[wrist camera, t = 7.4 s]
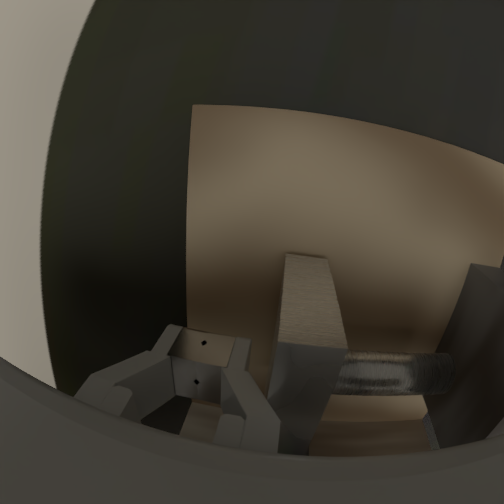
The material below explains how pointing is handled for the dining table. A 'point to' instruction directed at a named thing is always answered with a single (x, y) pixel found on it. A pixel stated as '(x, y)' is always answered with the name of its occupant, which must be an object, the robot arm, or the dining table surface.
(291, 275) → the slab with metal rod
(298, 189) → the gauge frame
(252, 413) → the robot arm
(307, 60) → the dining table surface
